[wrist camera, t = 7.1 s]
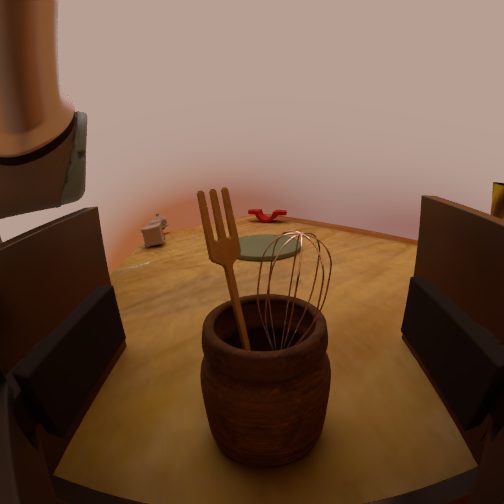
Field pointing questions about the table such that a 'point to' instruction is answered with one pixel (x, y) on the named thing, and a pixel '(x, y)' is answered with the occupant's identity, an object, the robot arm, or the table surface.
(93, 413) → the table surface
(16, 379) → the robot arm
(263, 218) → the pipe clamp
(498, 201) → the mug
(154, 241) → the toy set
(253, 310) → the utensil holder
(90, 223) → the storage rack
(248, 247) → the rubber mat
